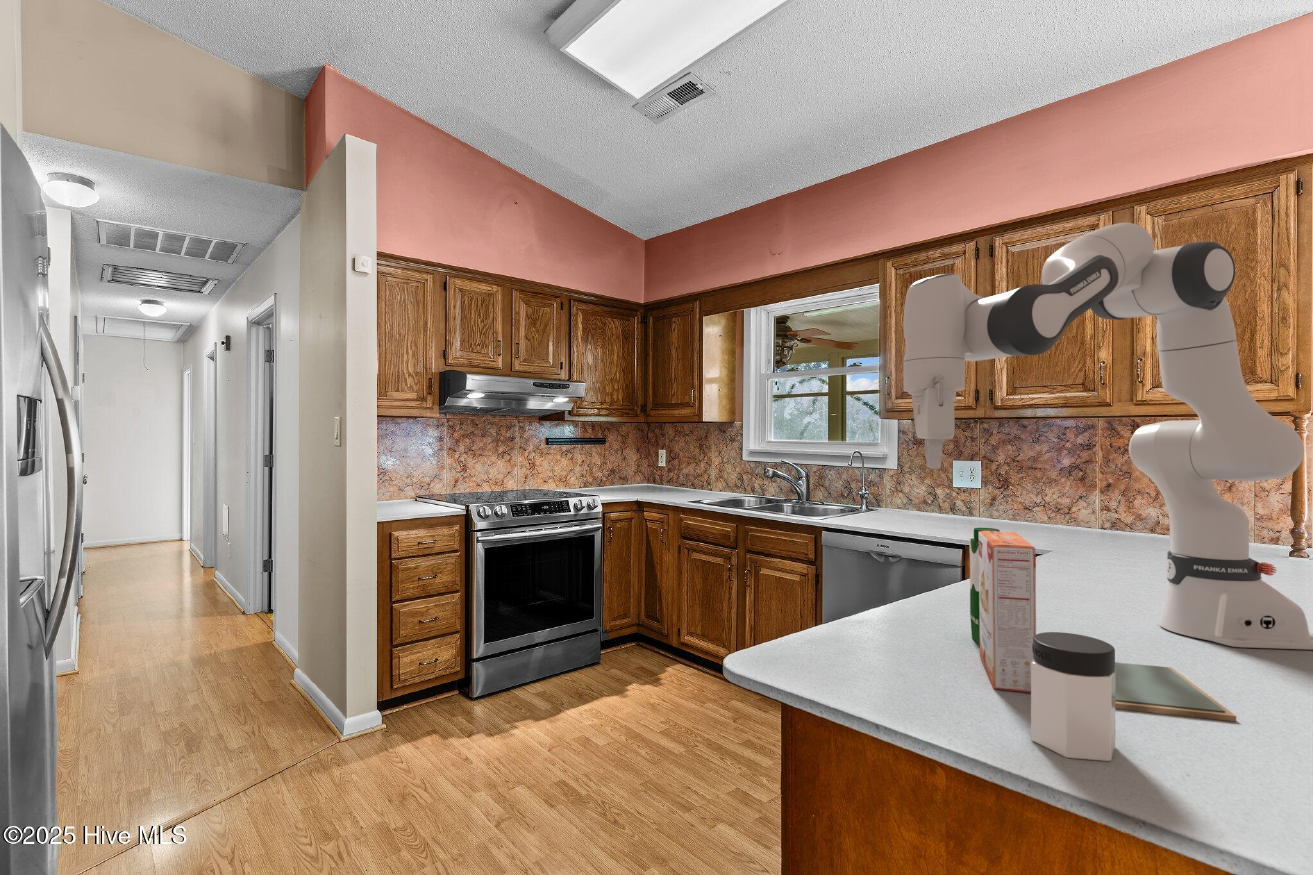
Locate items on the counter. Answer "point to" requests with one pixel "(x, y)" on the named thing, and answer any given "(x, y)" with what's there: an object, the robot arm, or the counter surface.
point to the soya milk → (975, 583)
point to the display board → (1163, 693)
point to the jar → (1073, 695)
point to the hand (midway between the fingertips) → (933, 468)
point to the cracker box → (1007, 608)
